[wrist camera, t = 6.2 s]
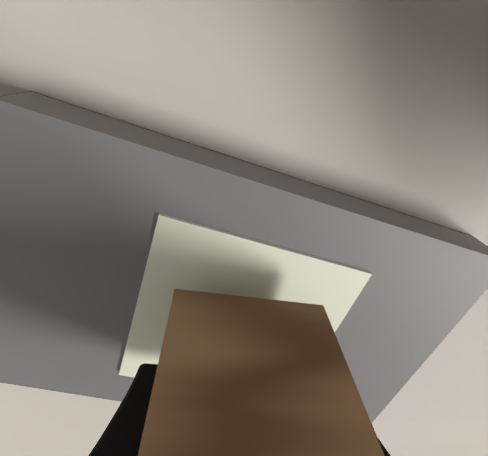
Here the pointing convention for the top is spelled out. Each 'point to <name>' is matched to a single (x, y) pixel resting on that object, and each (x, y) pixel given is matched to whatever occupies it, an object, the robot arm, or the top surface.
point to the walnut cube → (253, 383)
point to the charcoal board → (199, 254)
